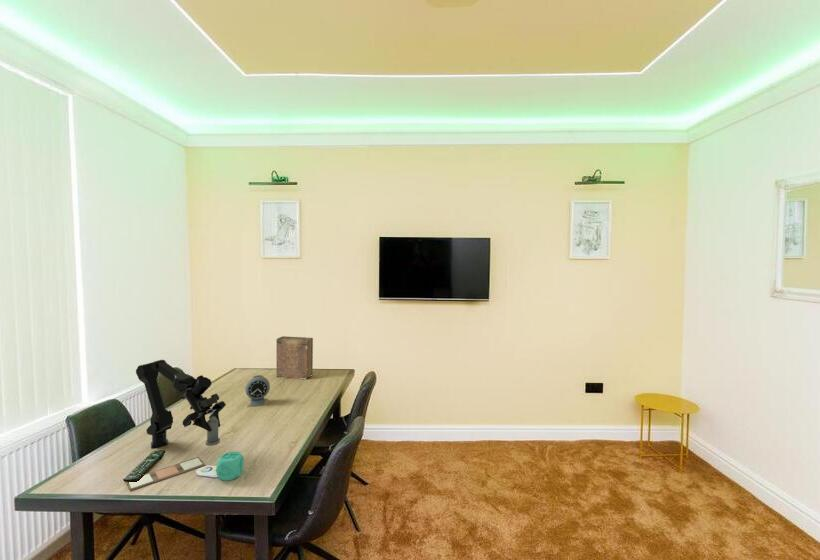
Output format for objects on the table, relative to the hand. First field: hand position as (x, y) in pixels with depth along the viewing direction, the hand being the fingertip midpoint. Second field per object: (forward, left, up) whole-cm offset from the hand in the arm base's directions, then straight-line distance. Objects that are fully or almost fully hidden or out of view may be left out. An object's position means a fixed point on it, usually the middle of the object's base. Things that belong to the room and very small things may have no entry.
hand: (215, 428), depth 166 cm
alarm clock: (-59, +31, -14) cm, 68 cm away
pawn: (-1, -1, -7) cm, 7 cm away
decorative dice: (+18, +4, -14) cm, 23 cm away
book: (-101, +67, -14) cm, 122 cm away
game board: (+2, -18, -13) cm, 23 cm away
